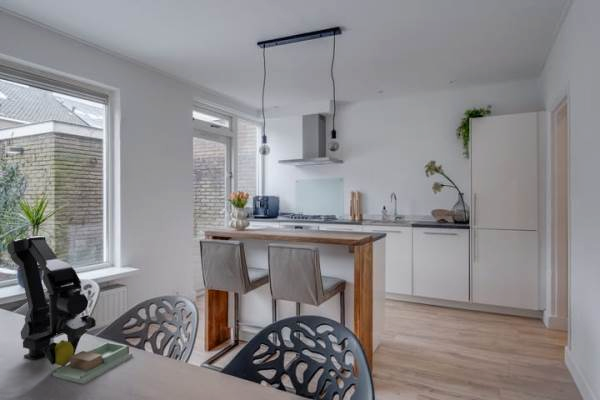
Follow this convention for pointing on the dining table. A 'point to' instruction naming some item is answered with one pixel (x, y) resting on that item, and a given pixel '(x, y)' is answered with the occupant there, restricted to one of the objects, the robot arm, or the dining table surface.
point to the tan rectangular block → (85, 360)
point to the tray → (110, 358)
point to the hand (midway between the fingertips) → (63, 359)
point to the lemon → (63, 352)
